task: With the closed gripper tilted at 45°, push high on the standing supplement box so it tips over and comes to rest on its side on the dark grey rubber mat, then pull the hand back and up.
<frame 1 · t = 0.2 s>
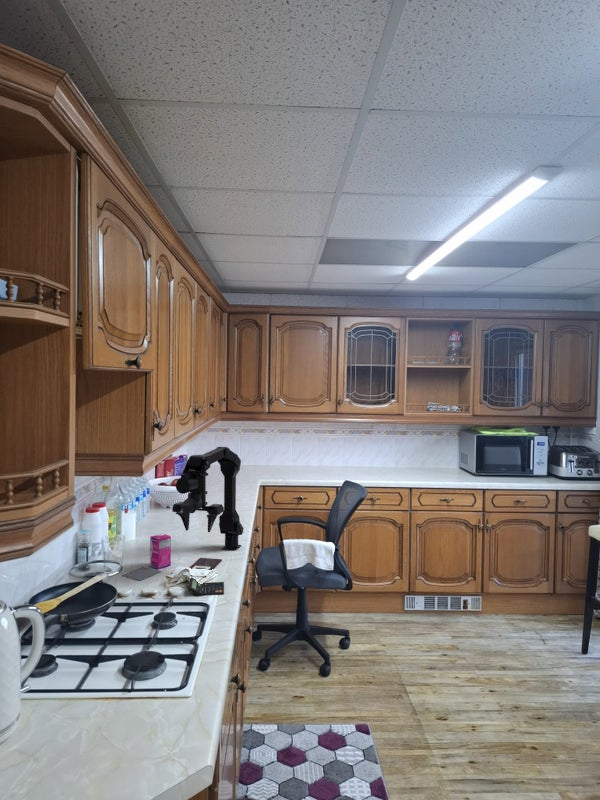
hand: (198, 531, 181), 14 cm above the counter, tool pointing down, fingers open, 9 cm apart
supplement box: (160, 566, 184), on the counter
calculator: (206, 591, 163), on the counter
chocolate bar: (202, 569, 183), on the counter
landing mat: (141, 573, 176), on the counter
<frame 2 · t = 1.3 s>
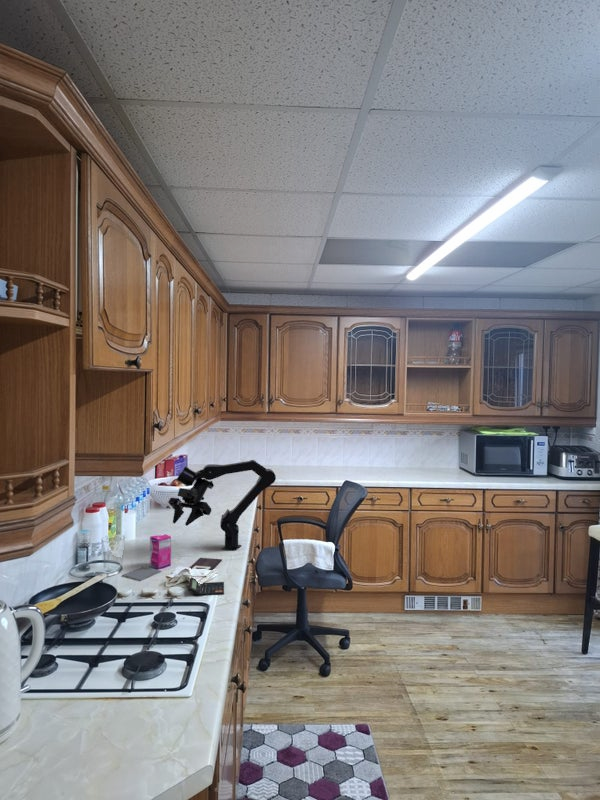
hand: (179, 524, 194), 14 cm above the counter, tool tilted 45°, fingers open, 6 cm apart
nothing on the counter moved.
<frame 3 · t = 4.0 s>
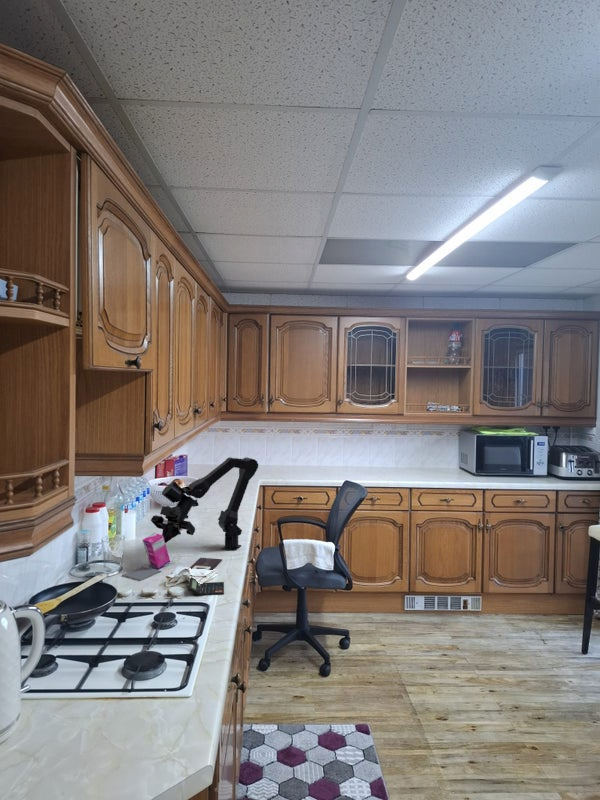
hand: (161, 544, 185), 8 cm above the counter, tool tilted 45°, fingers closed
supplement box: (160, 564, 184), point 1 cm above the counter, touching gripper
everything else where it was.
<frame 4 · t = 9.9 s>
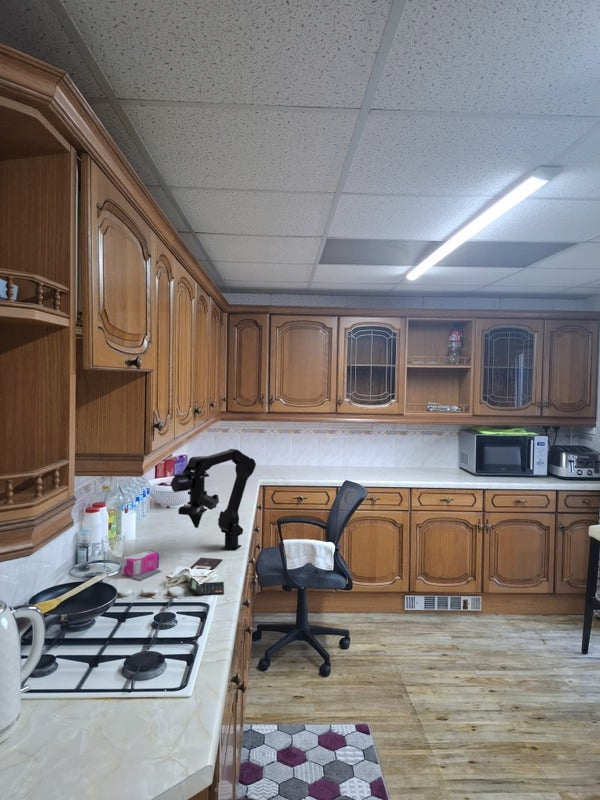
hand: (196, 527, 194), 12 cm above the counter, tool pointing down, fingers closed
supplement box: (155, 559, 182), point 3 cm above the counter, touching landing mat
everything else where it was.
at the end: supplement box tilted 89°; supplement box touching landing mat; the gripper is holding nothing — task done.
